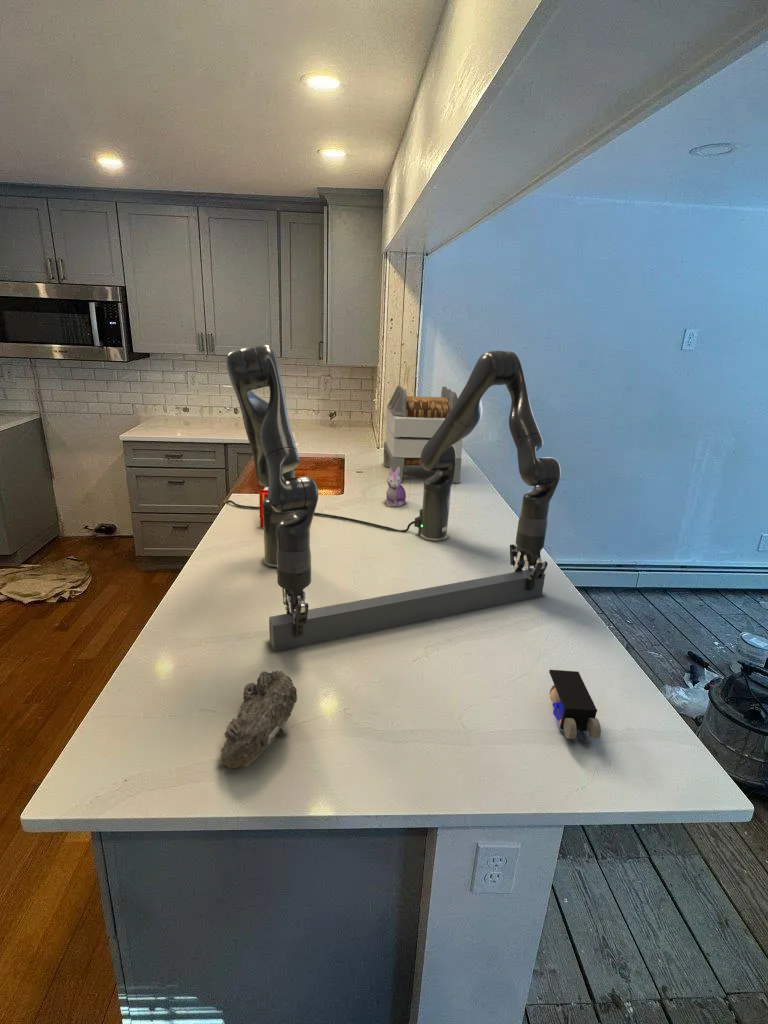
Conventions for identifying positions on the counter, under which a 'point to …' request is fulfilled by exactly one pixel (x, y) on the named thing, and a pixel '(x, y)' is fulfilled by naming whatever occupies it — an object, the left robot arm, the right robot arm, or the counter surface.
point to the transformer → (415, 428)
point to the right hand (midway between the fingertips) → (523, 585)
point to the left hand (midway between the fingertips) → (294, 630)
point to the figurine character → (573, 705)
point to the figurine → (395, 489)
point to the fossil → (258, 718)
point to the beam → (401, 609)
